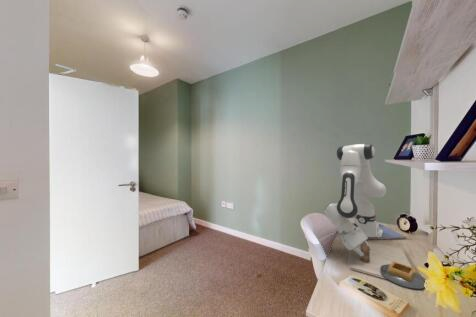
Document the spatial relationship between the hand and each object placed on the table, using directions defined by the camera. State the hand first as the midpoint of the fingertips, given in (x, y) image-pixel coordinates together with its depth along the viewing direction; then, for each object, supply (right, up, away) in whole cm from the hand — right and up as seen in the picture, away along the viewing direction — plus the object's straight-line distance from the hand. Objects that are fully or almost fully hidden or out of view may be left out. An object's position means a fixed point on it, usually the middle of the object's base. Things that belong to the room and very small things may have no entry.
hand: (366, 252), depth 99 cm
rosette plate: (+7, -4, -14) cm, 16 cm away
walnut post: (0, -4, +1) cm, 4 cm away
